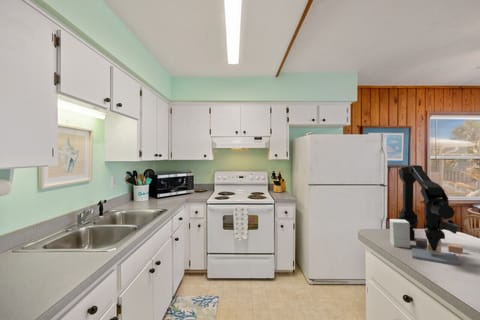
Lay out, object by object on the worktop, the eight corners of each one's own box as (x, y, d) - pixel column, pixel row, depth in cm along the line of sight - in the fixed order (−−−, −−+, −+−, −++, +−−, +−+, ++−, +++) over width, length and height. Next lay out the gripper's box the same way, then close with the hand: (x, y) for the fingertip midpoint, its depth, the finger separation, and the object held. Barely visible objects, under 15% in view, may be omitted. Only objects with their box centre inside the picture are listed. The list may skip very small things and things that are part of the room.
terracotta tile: (448, 252, 117) (448, 246, 117) (447, 250, 119) (447, 244, 119) (462, 254, 114) (462, 247, 114) (461, 252, 116) (461, 245, 116)
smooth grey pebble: (416, 246, 124) (416, 240, 124) (415, 244, 129) (415, 238, 129) (428, 248, 122) (428, 242, 122) (427, 245, 126) (427, 239, 126)
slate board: (412, 258, 110) (412, 255, 110) (411, 249, 120) (411, 247, 120) (460, 266, 101) (460, 263, 101) (455, 256, 111) (455, 254, 111)
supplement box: (405, 243, 129) (405, 219, 129) (410, 248, 122) (409, 222, 122) (389, 242, 132) (389, 218, 132) (393, 246, 125) (392, 221, 125)
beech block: (428, 252, 110) (427, 238, 110) (427, 249, 114) (427, 236, 114) (441, 254, 108) (440, 240, 108) (439, 251, 111) (439, 237, 111)
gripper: (460, 220, 99) (461, 259, 98) (453, 211, 114) (453, 245, 114) (425, 217, 105) (426, 254, 105) (423, 209, 120) (423, 241, 120)
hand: (433, 248), depth 111 cm, fingers closed on beech block, 4 cm apart
